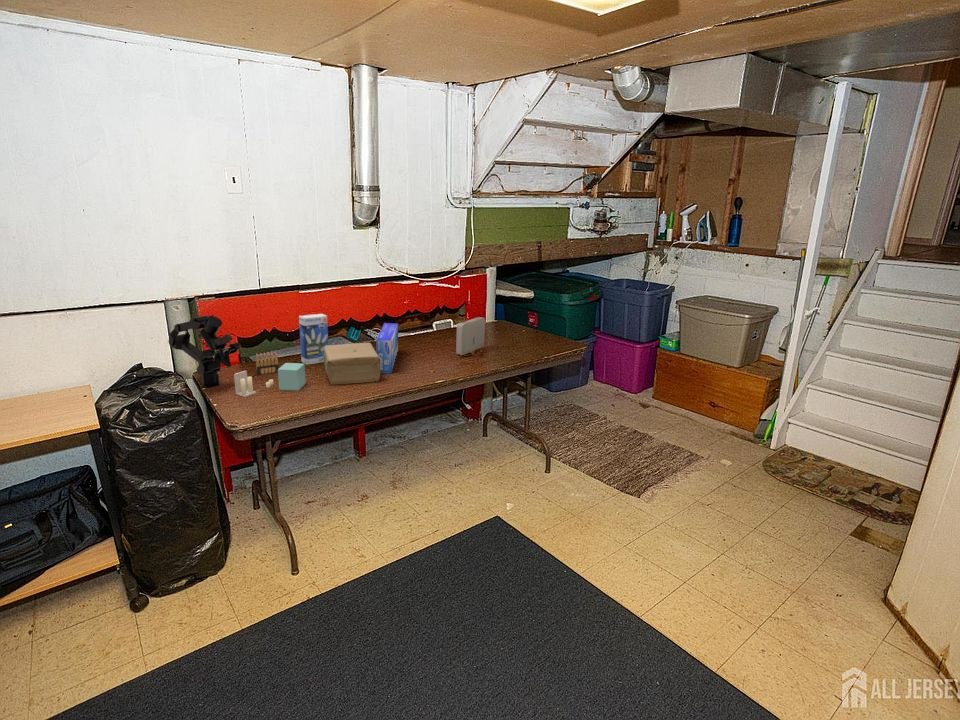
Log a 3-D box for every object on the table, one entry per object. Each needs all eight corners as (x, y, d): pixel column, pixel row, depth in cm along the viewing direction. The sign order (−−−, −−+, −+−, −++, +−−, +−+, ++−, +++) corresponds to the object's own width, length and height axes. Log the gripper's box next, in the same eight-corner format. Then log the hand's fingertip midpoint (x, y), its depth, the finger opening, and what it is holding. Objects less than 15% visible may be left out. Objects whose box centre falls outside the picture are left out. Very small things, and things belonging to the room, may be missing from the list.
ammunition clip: (278, 372, 276) (276, 350, 273) (279, 373, 275) (277, 351, 271) (256, 375, 271) (254, 352, 267) (257, 376, 269) (255, 353, 266)
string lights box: (306, 365, 289) (303, 318, 282) (300, 361, 295) (297, 315, 287) (329, 361, 298) (327, 315, 290) (323, 357, 303) (321, 312, 296)
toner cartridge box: (392, 374, 281) (391, 340, 276) (376, 373, 281) (375, 339, 275) (398, 352, 318) (398, 322, 313) (384, 352, 318) (383, 322, 312)
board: (257, 389, 253) (256, 383, 252) (263, 384, 259) (263, 378, 258) (282, 390, 252) (282, 384, 252) (288, 385, 259) (287, 379, 258)
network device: (464, 359, 311) (465, 325, 305) (452, 356, 315) (452, 323, 309) (487, 349, 332) (488, 318, 326) (475, 347, 336) (476, 315, 330)
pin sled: (236, 394, 243) (233, 374, 240) (247, 391, 248) (245, 370, 246) (245, 397, 241) (243, 376, 238) (256, 393, 246) (254, 372, 243)
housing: (279, 389, 251) (277, 369, 248) (287, 382, 260) (285, 362, 257) (298, 390, 251) (297, 370, 248) (305, 383, 260) (304, 363, 257)
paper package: (323, 369, 285) (322, 344, 280) (372, 366, 293) (372, 341, 289) (327, 386, 260) (326, 359, 256) (381, 382, 269) (380, 355, 265)
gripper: (199, 333, 235) (219, 362, 233) (236, 325, 251) (254, 352, 249) (190, 347, 241) (209, 375, 239) (226, 338, 256) (244, 365, 255)
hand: (230, 366), depth 245 cm, fingers closed
